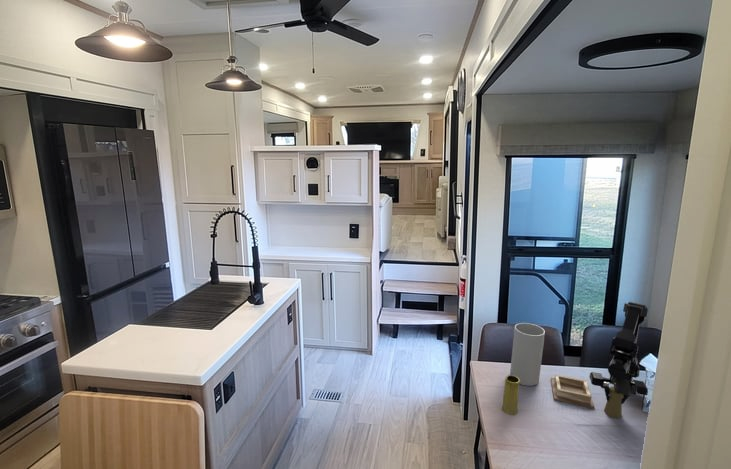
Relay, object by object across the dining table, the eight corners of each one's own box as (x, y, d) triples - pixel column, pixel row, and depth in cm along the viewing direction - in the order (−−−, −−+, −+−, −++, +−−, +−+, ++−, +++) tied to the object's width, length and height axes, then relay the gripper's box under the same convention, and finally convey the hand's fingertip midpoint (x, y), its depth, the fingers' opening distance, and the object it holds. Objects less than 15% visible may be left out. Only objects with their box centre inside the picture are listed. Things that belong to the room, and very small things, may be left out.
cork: (624, 419, 149) (628, 394, 146) (607, 416, 150) (611, 392, 148) (617, 409, 155) (621, 385, 152) (601, 407, 156) (605, 383, 153)
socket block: (550, 379, 174) (551, 371, 174) (587, 386, 169) (588, 378, 168) (553, 399, 160) (554, 391, 159) (594, 408, 155) (595, 400, 154)
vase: (517, 407, 155) (521, 376, 152) (517, 416, 149) (520, 385, 146) (502, 403, 157) (505, 373, 154) (500, 412, 152) (503, 381, 149)
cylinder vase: (509, 382, 172) (514, 332, 166) (510, 368, 183) (515, 321, 178) (539, 389, 167) (545, 337, 162) (538, 374, 178) (544, 325, 173)
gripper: (597, 372, 144) (591, 408, 147) (655, 383, 137) (648, 420, 141) (591, 358, 154) (586, 392, 157) (646, 367, 147) (639, 402, 151)
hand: (614, 401), depth 151 cm, fingers closed on cork, 5 cm apart
